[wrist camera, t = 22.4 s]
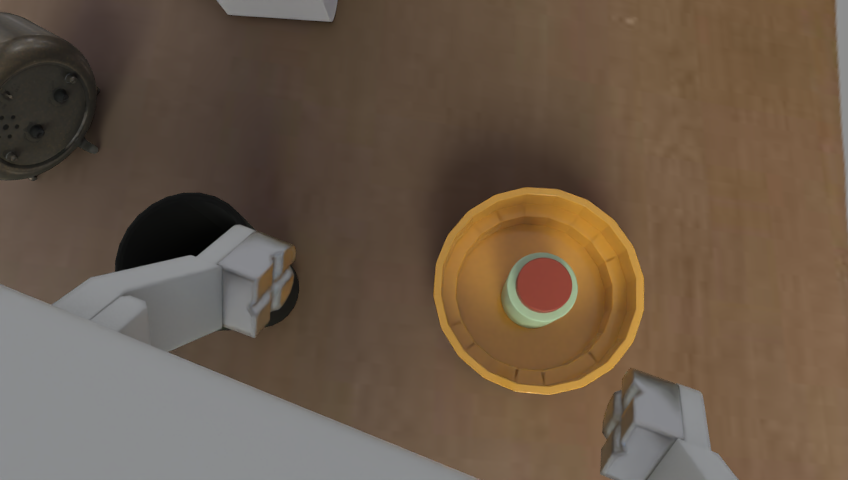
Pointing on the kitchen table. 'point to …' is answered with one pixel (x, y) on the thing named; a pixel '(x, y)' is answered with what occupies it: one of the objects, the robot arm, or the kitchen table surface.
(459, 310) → the bowl
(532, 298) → the container
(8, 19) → the alarm clock
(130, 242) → the cup
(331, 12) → the charger
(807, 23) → the kitchen table surface
